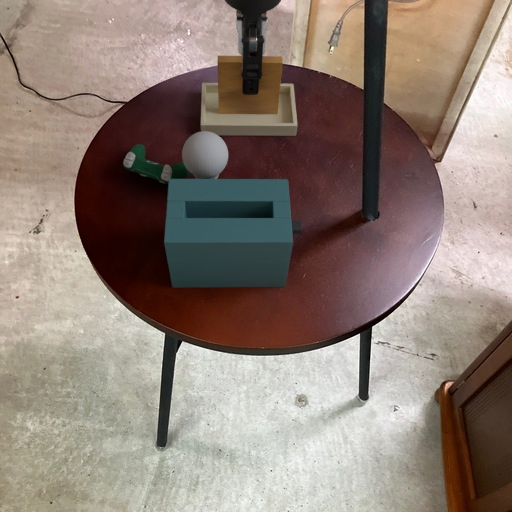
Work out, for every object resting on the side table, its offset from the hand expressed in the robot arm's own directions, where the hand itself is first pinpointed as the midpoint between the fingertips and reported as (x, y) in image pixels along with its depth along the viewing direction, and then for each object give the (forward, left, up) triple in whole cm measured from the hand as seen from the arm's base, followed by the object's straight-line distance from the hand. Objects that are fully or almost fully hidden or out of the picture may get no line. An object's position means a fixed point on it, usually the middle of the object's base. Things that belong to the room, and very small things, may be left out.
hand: (249, 72), depth 78 cm
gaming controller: (-13, -12, -8) cm, 19 cm away
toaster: (-3, -26, -8) cm, 27 cm away
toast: (0, 0, -7) cm, 7 cm away
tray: (0, 0, -8) cm, 8 cm away
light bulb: (-6, -15, -8) cm, 18 cm away
